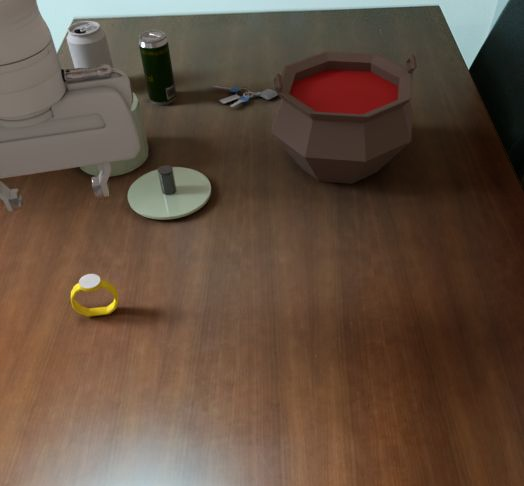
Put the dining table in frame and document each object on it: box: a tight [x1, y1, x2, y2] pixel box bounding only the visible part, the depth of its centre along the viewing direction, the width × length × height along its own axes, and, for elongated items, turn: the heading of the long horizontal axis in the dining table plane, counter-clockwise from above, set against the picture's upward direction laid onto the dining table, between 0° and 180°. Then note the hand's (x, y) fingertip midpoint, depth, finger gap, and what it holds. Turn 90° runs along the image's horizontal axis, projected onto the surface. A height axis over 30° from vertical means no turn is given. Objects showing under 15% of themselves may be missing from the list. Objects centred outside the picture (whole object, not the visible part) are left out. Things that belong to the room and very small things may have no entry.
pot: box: [79, 92, 150, 178], centre depth 100 cm, size 13×13×10 cm
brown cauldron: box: [270, 50, 418, 185], centre depth 94 cm, size 24×24×16 cm
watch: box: [70, 273, 120, 318], centre depth 77 cm, size 6×3×6 cm, turn 101°
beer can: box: [138, 29, 177, 106], centre depth 111 cm, size 5×5×12 cm
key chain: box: [211, 85, 279, 108], centre depth 114 cm, size 14×8×1 cm, turn 80°
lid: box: [126, 164, 212, 221], centre depth 93 cm, size 14×14×5 cm
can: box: [65, 20, 116, 75], centre depth 115 cm, size 8×8×12 cm
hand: (59, 200), depth 65 cm, fingers open, 8 cm apart
